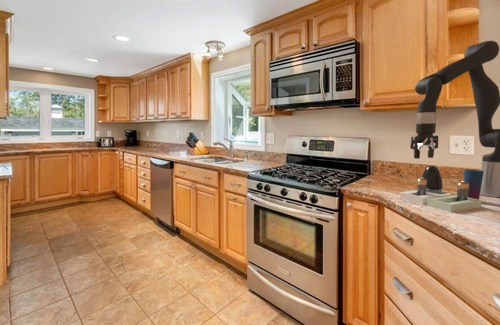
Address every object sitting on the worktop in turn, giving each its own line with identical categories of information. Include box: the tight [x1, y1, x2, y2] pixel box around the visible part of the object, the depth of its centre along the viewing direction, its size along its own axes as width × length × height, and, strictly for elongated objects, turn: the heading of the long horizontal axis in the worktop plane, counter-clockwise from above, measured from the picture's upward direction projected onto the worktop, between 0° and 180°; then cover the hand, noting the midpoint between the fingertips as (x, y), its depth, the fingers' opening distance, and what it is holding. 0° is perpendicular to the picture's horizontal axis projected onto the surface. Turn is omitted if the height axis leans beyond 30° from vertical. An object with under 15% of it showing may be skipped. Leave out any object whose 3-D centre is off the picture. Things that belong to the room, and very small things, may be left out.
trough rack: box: [426, 194, 483, 213], centre depth 113 cm, size 18×10×4 cm, turn 108°
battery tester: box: [399, 189, 453, 205], centre depth 125 cm, size 18×12×4 cm, turn 108°
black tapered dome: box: [420, 165, 444, 192], centre depth 137 cm, size 10×10×15 cm
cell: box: [416, 177, 427, 196], centre depth 124 cm, size 4×4×11 cm
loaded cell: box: [456, 180, 469, 202], centre depth 114 cm, size 4×4×11 cm
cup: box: [463, 168, 484, 200], centre depth 120 cm, size 7×7×15 cm
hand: (423, 158), depth 122 cm, fingers open, 8 cm apart
